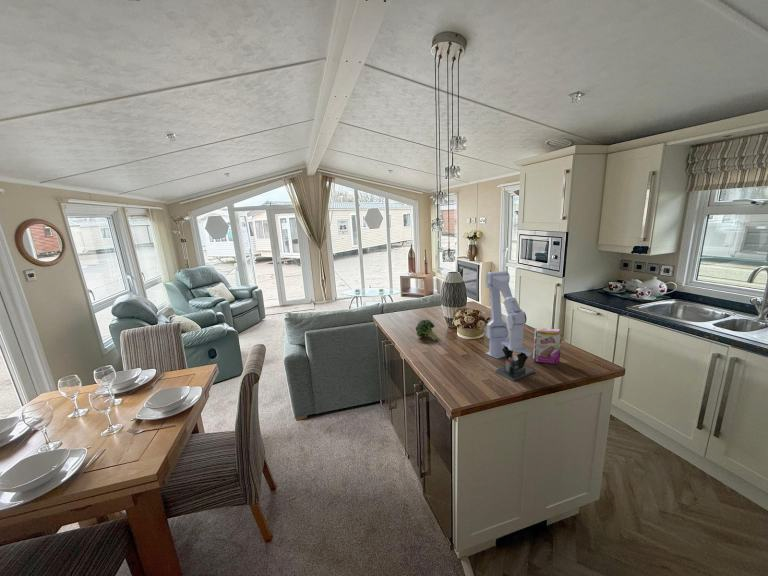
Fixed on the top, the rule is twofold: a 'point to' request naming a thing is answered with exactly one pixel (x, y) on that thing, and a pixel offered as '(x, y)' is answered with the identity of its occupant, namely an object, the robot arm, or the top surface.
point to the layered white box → (514, 362)
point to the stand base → (514, 371)
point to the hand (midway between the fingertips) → (515, 365)
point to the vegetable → (426, 329)
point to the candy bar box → (547, 345)
